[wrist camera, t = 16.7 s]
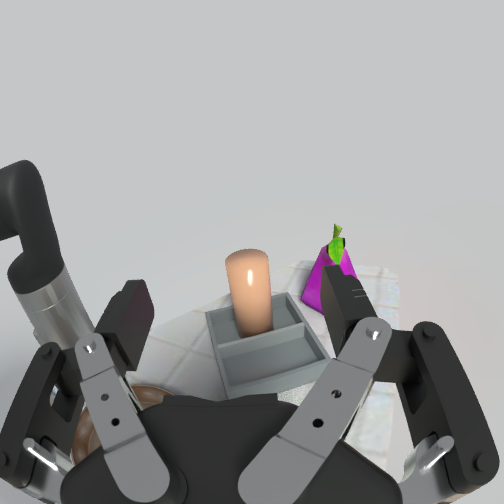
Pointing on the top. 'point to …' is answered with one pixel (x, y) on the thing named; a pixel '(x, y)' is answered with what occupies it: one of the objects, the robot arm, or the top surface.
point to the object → (87, 434)
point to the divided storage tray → (267, 351)
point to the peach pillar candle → (250, 291)
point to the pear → (327, 256)
